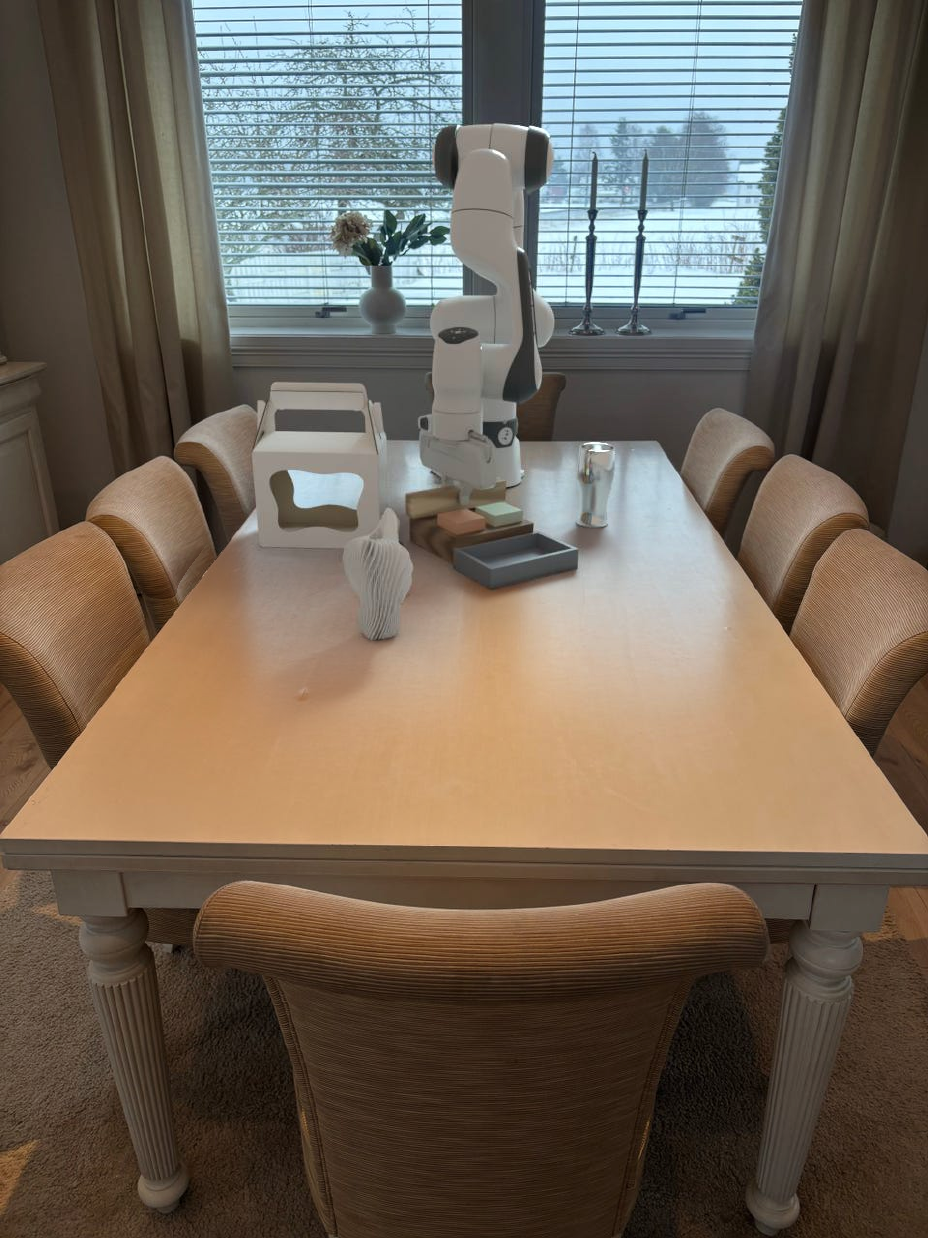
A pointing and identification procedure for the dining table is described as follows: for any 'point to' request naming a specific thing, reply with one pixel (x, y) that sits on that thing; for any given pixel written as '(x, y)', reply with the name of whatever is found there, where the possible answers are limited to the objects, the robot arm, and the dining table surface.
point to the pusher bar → (451, 499)
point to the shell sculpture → (379, 577)
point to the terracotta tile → (461, 521)
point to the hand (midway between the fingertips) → (456, 501)
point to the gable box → (317, 467)
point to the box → (515, 559)
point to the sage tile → (500, 513)
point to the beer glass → (594, 483)
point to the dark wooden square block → (459, 535)
